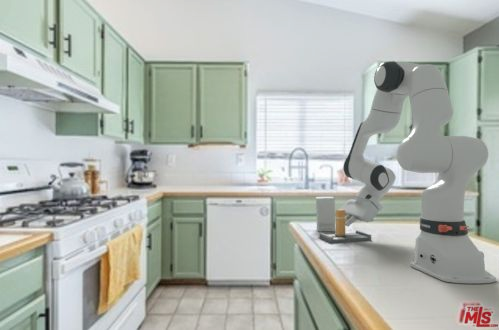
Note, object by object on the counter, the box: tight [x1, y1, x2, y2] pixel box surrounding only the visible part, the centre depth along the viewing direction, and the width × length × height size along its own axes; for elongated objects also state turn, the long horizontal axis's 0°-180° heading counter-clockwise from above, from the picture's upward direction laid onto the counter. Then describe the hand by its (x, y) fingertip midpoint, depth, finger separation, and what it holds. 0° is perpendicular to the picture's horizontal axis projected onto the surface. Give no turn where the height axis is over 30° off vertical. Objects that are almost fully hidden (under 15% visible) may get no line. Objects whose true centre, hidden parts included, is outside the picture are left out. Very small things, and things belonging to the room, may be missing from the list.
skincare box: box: [315, 196, 336, 233], centre depth 163 cm, size 8×7×16 cm
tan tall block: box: [334, 208, 347, 237], centre depth 143 cm, size 4×4×11 cm
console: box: [319, 230, 372, 244], centre depth 144 cm, size 18×10×2 cm, turn 104°
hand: (345, 224), depth 144 cm, fingers closed, pressing on tan tall block
